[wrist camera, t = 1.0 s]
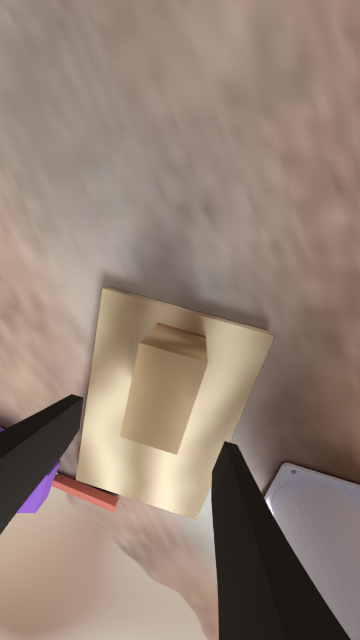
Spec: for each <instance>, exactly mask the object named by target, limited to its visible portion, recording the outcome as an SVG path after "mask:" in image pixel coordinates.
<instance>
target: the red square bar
mask: <svg viewBox="0 0 360 640" xmlns="http://www.w3.org/2000/svg"><path fill="white" fill-rule="evenodd" d="M52 484H53V487H56V488H58V489H60V490H63V491H65V492H67V493H70V494H72V495H74V496H77V497H79V498H81V499H84V500H86V501H89V502H91V503H93V504H96V505H98V506H100V507H103V508H105V509H107V510H110V511H112V512H114V511H115V508H116V506H117V503H118V499H119V498H117V497H114V496H112V495H110V494H107V493H105V492H102V491H100V490H98V489H95V488H93V487H90V486H88V485H86V484H83V483H81V482H78V481H76V480H74V479H71V478H69V477H66V476H64V475H62V474H59V473H58V475H57V474H56V475H55V478H54V480H53V483H52Z"/></svg>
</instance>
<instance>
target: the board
mask: <svg viewBox="0 0 360 640" xmlns="http://www.w3.org/2000/svg"><path fill="white" fill-rule="evenodd" d="M157 323H161V324H165V325H168V326H172V327H175V328H179V329H182V330H186V331H189V332H193V333H196V334H200V335H204V336H206V344H207V357H208V364H207V367H206V370H205V373H204V376H203V379H202V382H201V385H200V388H199V391H198V394H197V397H196V400H195V403H194V406H193V409H192V412H191V415H190V418H189V421H188V424H187V427H186V430H185V433H184V436H183V439H182V442H181V445H180V448H179V451H178V454H177V455H175V454H172V453H169V452H166V451H163V450H160V449H156V448H153V447H150V446H147V445H144V444H141V443H137V442H134V441H131V440H128V439H125V438H122V437H120V433H121V428H122V424H123V419H124V414H125V409H126V405H127V400H128V395H129V390H130V386H131V381H132V376H133V371H134V367H135V362H136V357H137V352H138V348H139V343H140V342H141V341H142V340H143V339H144V337H145V336H146V335H147V334H148V333H149V332H150V331H151V330H152V329H153V328H154V326H155V325H156V324H157ZM274 337H275V336H274V335H273V334H272V333H271V332H269V331H266V330H262V329H259V328H255V327H252V326H248V325H244V324H241V323H237V322H233V321H230V320H226V319H223V318H219V317H215V316H212V315H208V314H205V313H201V312H197V311H194V310H190V309H187V308H183V307H179V306H176V305H172V304H168V303H165V302H161V301H158V300H154V299H150V298H147V297H143V296H140V295H136V294H132V293H129V292H125V291H122V290H118V289H114V288H111V287H108V288H102V294H101V302H100V309H99V316H98V323H97V331H96V338H95V345H94V352H93V360H92V367H91V374H90V381H89V389H88V396H87V403H86V410H85V418H84V425H83V432H82V439H81V446H80V454H79V461H78V468H77V475H76V480H77V481H80V482H83V483H86V484H89V485H92V486H95V487H98V488H101V489H104V490H107V491H110V492H113V493H116V494H119V495H122V496H125V497H128V498H131V499H134V500H137V501H140V502H143V503H146V504H149V505H152V506H155V507H158V508H161V509H164V510H167V511H170V512H173V513H177V514H180V515H183V516H186V517H189V518H192V519H195V520H197V517H198V515H199V513H200V510H201V508H202V506H203V503H204V501H205V499H206V496H207V494H208V492H209V489H210V487H211V485H212V470H213V468H214V465H215V463H216V460H217V458H218V456H219V453H220V451H221V448H222V446H223V444H224V441H226V442H230V440H231V438H232V435H233V433H234V431H235V428H236V426H237V424H238V421H239V419H240V417H241V414H242V412H243V410H244V407H245V405H246V403H247V400H248V398H249V396H250V393H251V391H252V389H253V386H254V384H255V382H256V379H257V377H258V374H259V372H260V370H261V367H262V365H263V363H264V360H265V358H266V356H267V353H268V351H269V349H270V346H271V344H272V342H273V339H274Z"/></svg>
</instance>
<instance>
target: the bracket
mask: <svg viewBox="0 0 360 640" xmlns="http://www.w3.org/2000/svg"><path fill="white" fill-rule="evenodd" d="M3 430H5V429H3V428H2V427H0V432H1V431H3ZM59 464H60V461H59V460H58V461H57V462H56V464H55V465H54V466H53V468H52V469H51V470H50V471H49V473H48V474H47V475H46V476H45V478H44V479H43V480H42V481H41V483H40V484H39V485H38V486H37V488H36V489H35V490H34V491H33V493H32V494H31V495H30V496H29V498H28V499H27V500H26V501H25V503H24V504H23V505H22V506H21V508H20V509H19V510H18V511H17V513H36V512H37V510H38V509H39V508H40V506H41V505H42V504H43V502H44V501H45V500H46V498H47V497H48V494H49V491H50V488H51V486H52V483H53V480H54V478H55V475H56V472H57V469H58V467H59Z"/></svg>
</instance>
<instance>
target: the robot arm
mask: <svg viewBox="0 0 360 640" xmlns="http://www.w3.org/2000/svg"><path fill="white" fill-rule="evenodd" d="M82 405H83V397H79V396H76V395H73V394H71V395H70V396H68V397H66V398H64V399H62V400H60V401H58V402H56V403H55V404H53V405H51V406H49V407H47V408H45V409H43V410H42V411H40V412H38V413H36V414H34V415H32V416H30V417H28V418H26V419H24V420H23V421H21V422H19V423H17V424H15V425H13V426H11V427H9V428H7V429H5V430H3V431H1V432H0V534H1V533H2V532H3V530H4V529H5V527H6V526H7V525H8V523H9V522H10V521H11V519H12V518H13V517H14V515H15V514H16V513H17V511H18V510H19V509H20V508H21V506H22V505H23V504H24V503H25V501H26V500H27V499H28V498H29V496H30V495H31V494H32V493H33V491H34V490H35V489H36V488H37V486H38V485H39V484H40V483H41V481H42V480H43V479H44V478H45V476H46V475H47V474H48V473H49V471H50V470H51V469H52V468H53V466H54V465H55V464H56V462H57V461H58V460H59V459H60V457H61V456H62V455H63V454H64V452H65V451H66V449H67V448H68V446H69V445H70V443H71V442H72V440H73V439H74V437H75V436H76V434H77V432H78V431H79V428H80V420H81V412H82ZM211 501H212V515H213V529H214V543H215V556H216V569H217V584H218V612H219V640H360V485H358V484H355V483H352V482H349V481H345V480H342V479H339V478H336V477H332V476H329V475H326V474H323V473H319V472H316V471H313V470H310V469H307V468H303V467H300V466H297V465H294V464H290V463H284V464H283V465H282V466H281V468H280V470H279V471H278V473H277V475H276V477H275V479H274V481H273V482H272V484H271V486H270V488H269V490H268V491H267V493H266V495H265V497H263V495H262V493H261V491H260V490H259V488H258V486H257V484H256V482H255V480H254V478H253V476H252V474H251V472H250V470H249V468H248V466H247V464H246V462H245V460H244V458H243V456H242V454H241V452H240V450H239V448H238V446H237V445H236V444H233V443H229V442H226V441H224V444H223V446H222V448H221V451H220V453H219V456H218V458H217V460H216V463H215V465H214V468H213V470H212V491H211Z"/></svg>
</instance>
